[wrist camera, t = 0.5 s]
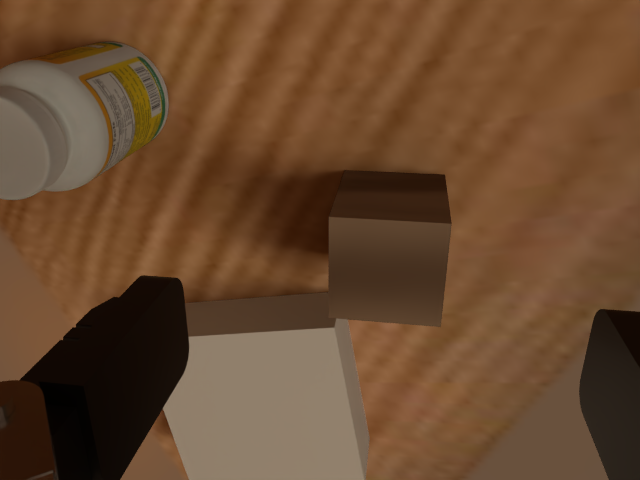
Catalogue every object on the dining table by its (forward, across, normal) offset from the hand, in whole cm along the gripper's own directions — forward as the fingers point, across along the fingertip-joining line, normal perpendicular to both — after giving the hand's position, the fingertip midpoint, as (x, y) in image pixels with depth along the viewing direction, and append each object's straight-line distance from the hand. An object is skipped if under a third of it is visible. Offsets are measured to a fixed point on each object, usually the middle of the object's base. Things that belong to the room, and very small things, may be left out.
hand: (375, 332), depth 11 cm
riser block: (+19, +7, +16) cm, 26 cm away
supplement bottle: (+18, +14, -1) cm, 23 cm away
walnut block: (+18, 0, +5) cm, 19 cm away
